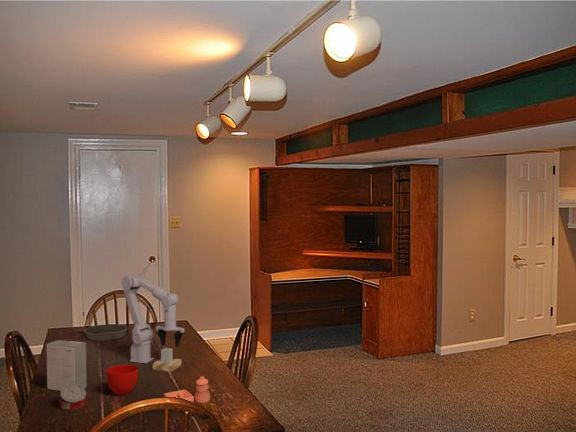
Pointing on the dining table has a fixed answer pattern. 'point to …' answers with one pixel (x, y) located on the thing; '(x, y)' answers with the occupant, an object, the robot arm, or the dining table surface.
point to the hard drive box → (65, 363)
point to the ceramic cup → (122, 378)
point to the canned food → (72, 396)
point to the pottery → (200, 395)
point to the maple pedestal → (167, 365)
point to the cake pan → (105, 332)
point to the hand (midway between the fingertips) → (170, 345)
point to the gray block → (166, 355)
